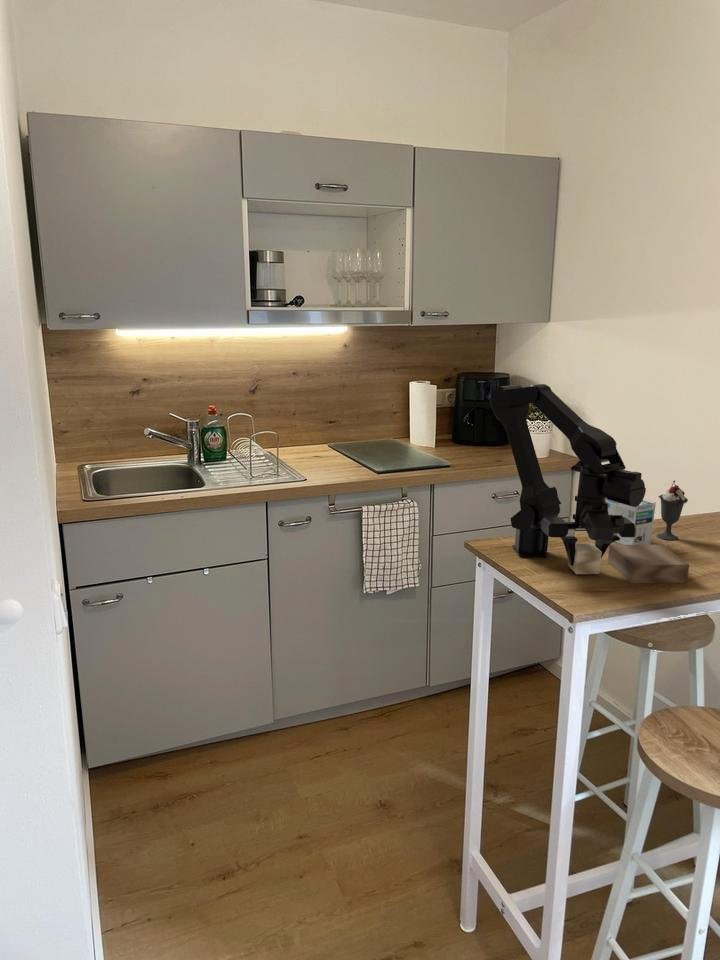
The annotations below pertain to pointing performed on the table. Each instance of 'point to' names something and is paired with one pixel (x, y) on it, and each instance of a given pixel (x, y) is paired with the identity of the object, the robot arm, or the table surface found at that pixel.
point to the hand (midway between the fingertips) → (583, 564)
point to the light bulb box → (635, 520)
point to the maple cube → (586, 559)
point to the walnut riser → (648, 564)
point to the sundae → (671, 510)
